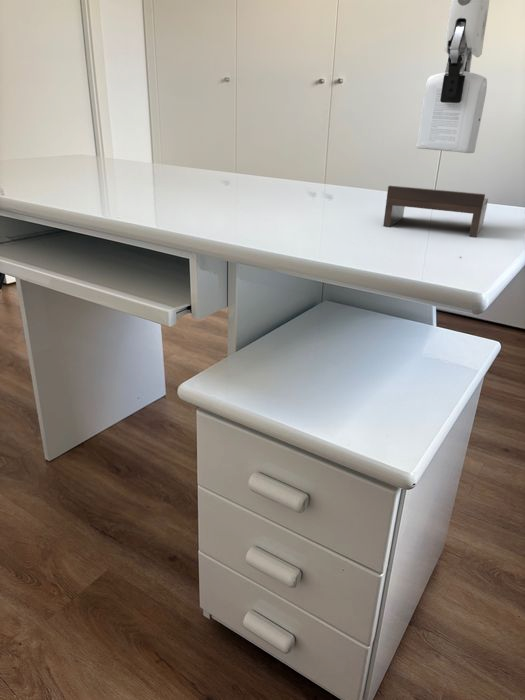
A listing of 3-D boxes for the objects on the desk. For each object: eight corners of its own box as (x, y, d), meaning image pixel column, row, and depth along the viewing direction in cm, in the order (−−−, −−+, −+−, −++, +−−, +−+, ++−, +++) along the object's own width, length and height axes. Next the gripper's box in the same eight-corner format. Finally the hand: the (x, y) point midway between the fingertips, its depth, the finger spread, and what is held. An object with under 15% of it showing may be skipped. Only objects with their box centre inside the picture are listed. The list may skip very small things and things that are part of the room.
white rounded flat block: (478, 152, 92) (493, 71, 87) (470, 153, 89) (485, 70, 84) (421, 148, 98) (432, 72, 93) (411, 149, 95) (422, 70, 89)
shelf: (397, 216, 106) (402, 179, 103) (482, 226, 100) (490, 187, 97) (383, 226, 97) (388, 186, 94) (476, 237, 91) (484, 194, 88)
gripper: (495, -42, 74) (469, 102, 82) (503, -18, 88) (481, 104, 96) (439, -38, 77) (420, 101, 85) (456, -15, 91) (438, 103, 99)
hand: (453, 101), depth 90 cm, fingers closed on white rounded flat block, 5 cm apart
